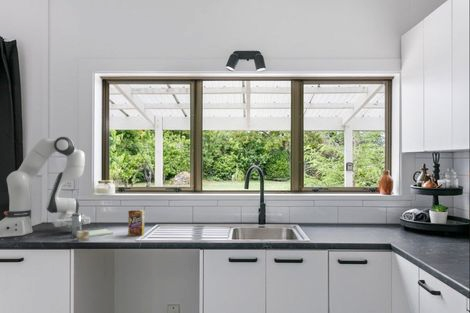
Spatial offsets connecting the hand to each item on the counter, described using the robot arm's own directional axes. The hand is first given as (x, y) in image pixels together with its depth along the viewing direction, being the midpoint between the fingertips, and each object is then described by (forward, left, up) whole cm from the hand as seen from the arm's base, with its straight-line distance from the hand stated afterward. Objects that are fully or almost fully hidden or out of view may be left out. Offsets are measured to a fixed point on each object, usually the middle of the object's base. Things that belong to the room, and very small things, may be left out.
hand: (75, 223), depth 198 cm
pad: (+13, -1, -8) cm, 15 cm away
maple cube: (+1, -14, -8) cm, 16 cm away
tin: (0, -4, -8) cm, 8 cm away
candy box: (+30, -20, -8) cm, 37 cm away
